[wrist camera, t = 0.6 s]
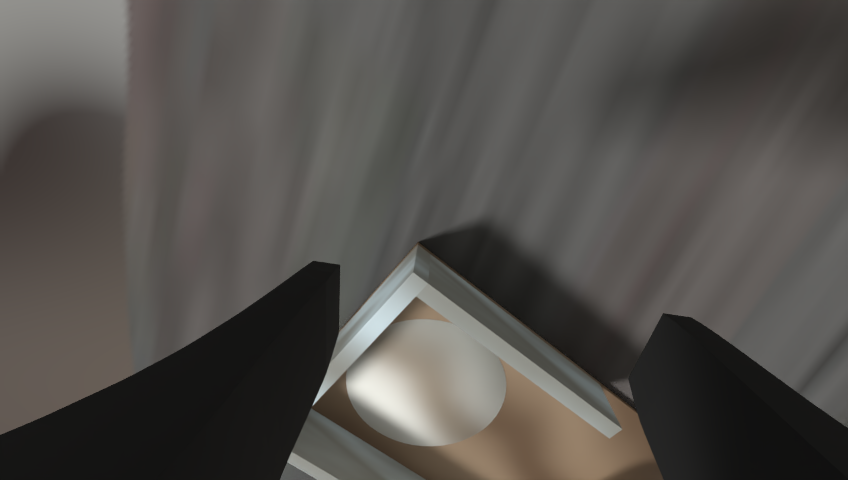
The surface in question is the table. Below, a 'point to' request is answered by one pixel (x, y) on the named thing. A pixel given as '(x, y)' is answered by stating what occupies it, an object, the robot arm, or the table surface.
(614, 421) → the pen board
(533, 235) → the table surface
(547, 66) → the table surface
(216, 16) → the table surface
